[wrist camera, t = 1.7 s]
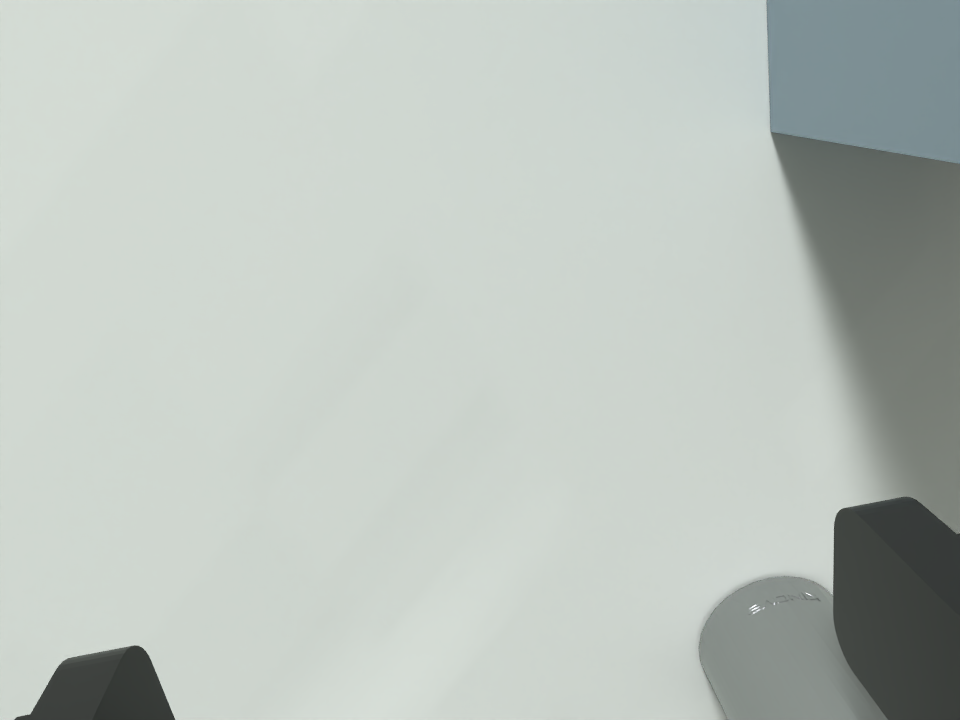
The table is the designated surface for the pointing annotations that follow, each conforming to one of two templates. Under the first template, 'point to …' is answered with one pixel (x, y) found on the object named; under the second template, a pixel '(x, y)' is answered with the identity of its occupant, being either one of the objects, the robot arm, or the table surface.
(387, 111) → the table surface
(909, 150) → the slate pedestal
